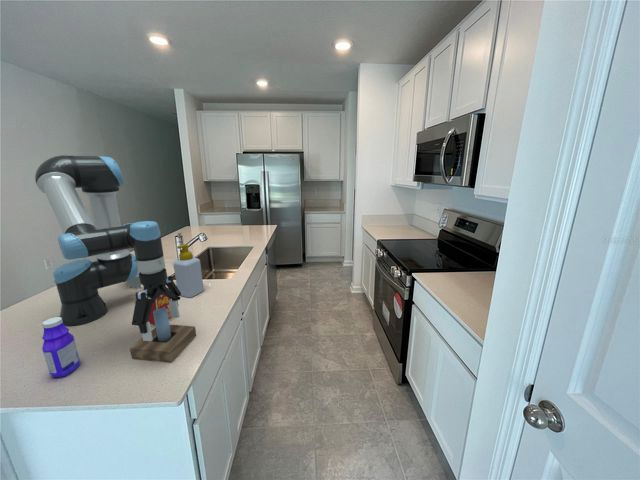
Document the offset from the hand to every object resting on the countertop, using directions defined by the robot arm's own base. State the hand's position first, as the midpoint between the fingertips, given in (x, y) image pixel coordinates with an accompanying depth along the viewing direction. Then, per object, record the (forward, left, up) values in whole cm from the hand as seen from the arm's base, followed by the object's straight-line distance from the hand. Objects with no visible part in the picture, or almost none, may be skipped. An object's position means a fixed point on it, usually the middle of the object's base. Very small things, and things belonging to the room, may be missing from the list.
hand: (162, 327), depth 90 cm
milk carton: (-14, +15, -8) cm, 22 cm away
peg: (0, 0, -8) cm, 8 cm away
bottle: (-23, -14, -8) cm, 28 cm away
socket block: (0, 0, -8) cm, 8 cm away
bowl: (-48, +48, -8) cm, 68 cm away
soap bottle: (-15, +39, -8) cm, 42 cm away
